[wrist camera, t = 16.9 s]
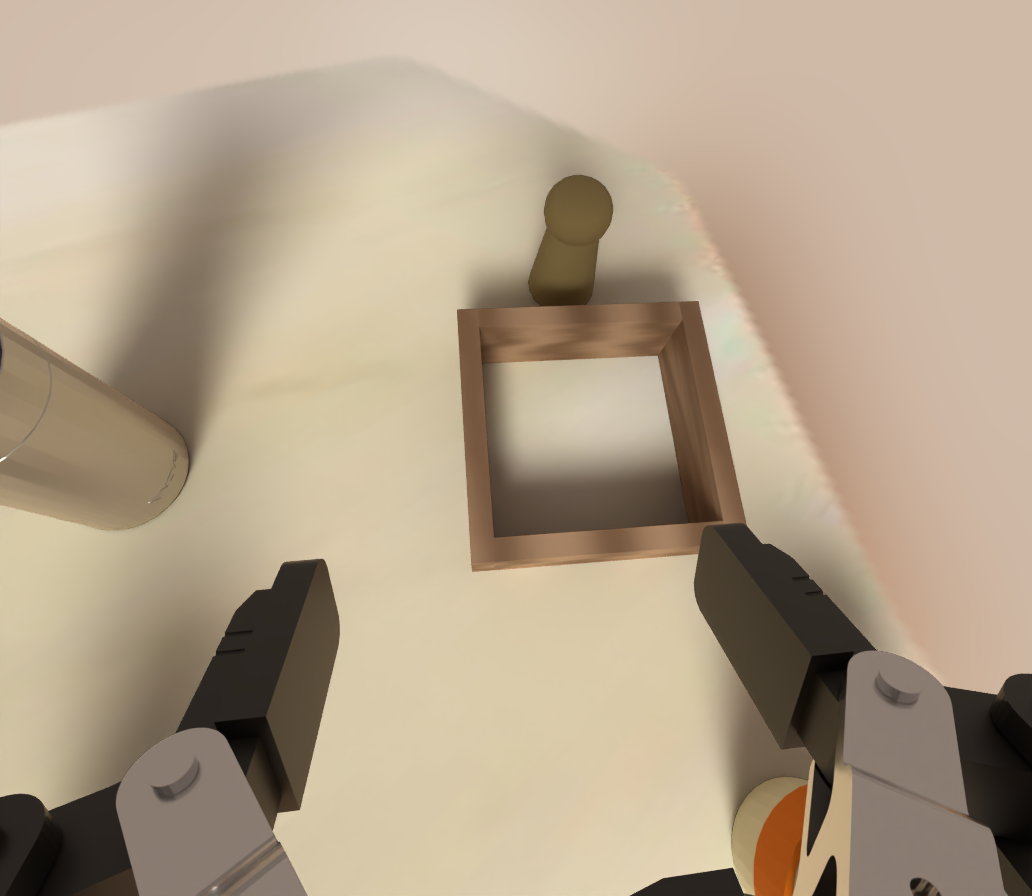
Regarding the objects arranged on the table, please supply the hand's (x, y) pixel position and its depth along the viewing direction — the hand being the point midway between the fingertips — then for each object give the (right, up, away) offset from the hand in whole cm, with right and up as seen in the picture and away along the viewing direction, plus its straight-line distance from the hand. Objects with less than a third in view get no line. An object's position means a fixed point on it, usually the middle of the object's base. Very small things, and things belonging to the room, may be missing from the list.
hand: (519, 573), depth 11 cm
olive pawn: (+4, +18, +38) cm, 42 cm away
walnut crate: (+5, +3, +33) cm, 34 cm away
